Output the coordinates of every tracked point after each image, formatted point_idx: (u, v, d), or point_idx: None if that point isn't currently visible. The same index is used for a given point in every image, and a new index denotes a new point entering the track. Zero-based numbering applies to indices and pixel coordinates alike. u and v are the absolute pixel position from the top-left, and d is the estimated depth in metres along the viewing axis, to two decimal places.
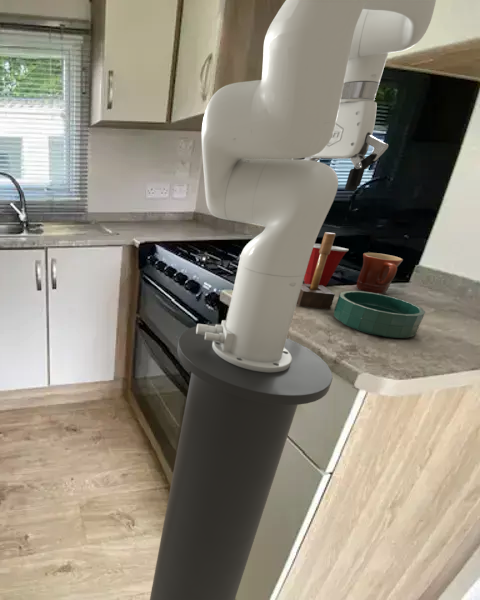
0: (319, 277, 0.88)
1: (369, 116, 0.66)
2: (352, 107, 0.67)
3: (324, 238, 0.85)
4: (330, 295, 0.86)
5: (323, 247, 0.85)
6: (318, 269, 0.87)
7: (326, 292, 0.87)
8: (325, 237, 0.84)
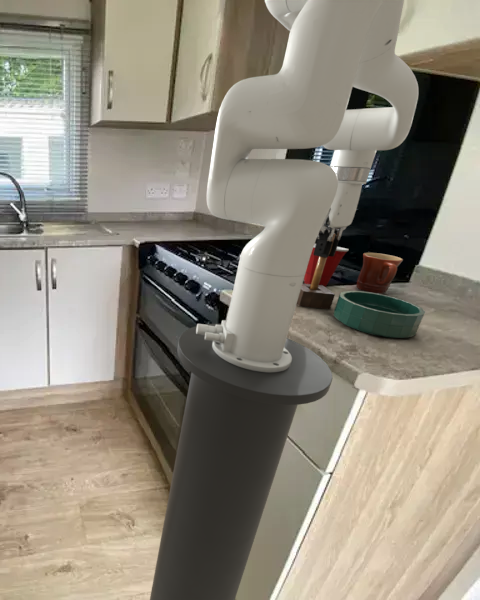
0: (319, 277, 0.88)
1: None
2: None
3: None
4: (330, 295, 0.86)
5: None
6: (318, 269, 0.87)
7: (326, 292, 0.87)
8: None
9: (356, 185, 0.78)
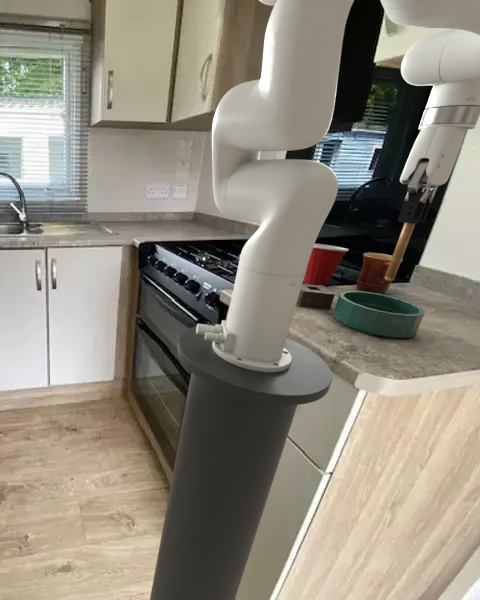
0: (404, 249, 0.72)
1: (422, 142, 0.64)
2: None
3: None
4: (330, 295, 0.86)
5: None
6: (403, 239, 0.72)
7: (326, 292, 0.87)
8: None
9: (462, 130, 0.63)
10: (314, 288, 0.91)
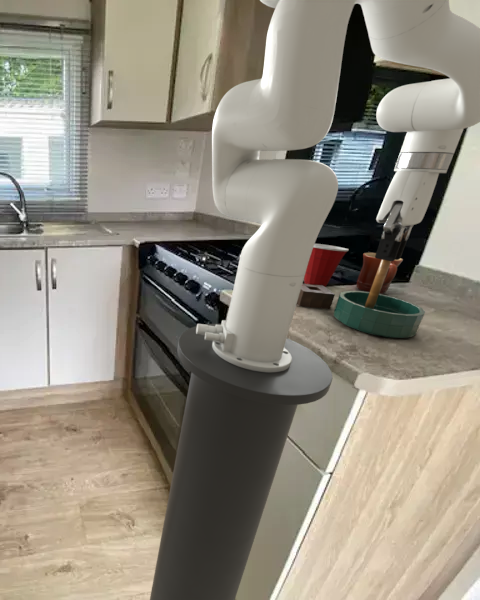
0: (381, 284, 0.75)
1: (397, 185, 0.67)
2: None
3: None
4: (330, 295, 0.86)
5: None
6: (380, 274, 0.74)
7: (326, 292, 0.87)
8: None
9: (434, 174, 0.65)
10: (314, 288, 0.91)
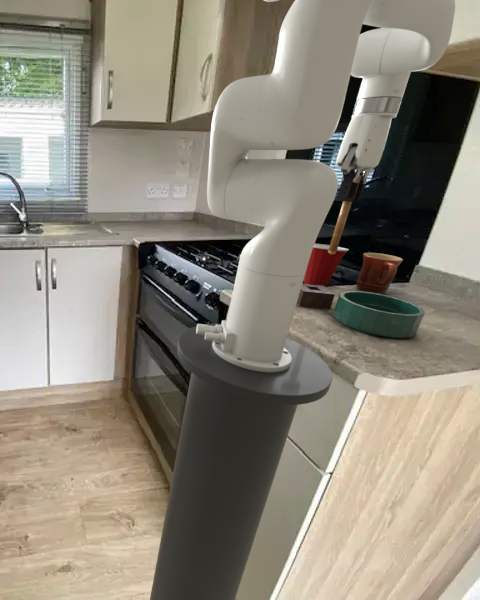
0: (343, 225, 0.82)
1: (352, 129, 0.74)
2: None
3: None
4: (330, 295, 0.86)
5: None
6: (342, 216, 0.81)
7: (326, 292, 0.87)
8: None
9: (386, 118, 0.72)
10: (314, 288, 0.91)
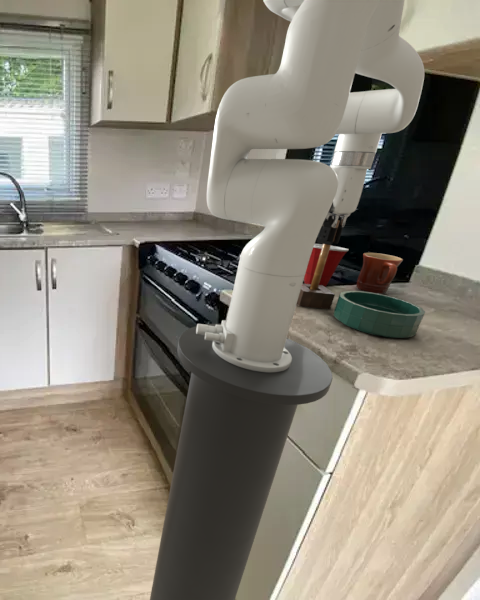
0: (323, 265, 0.87)
1: None
2: None
3: None
4: (330, 295, 0.86)
5: None
6: (322, 257, 0.86)
7: (326, 292, 0.87)
8: None
9: (361, 170, 0.77)
10: None
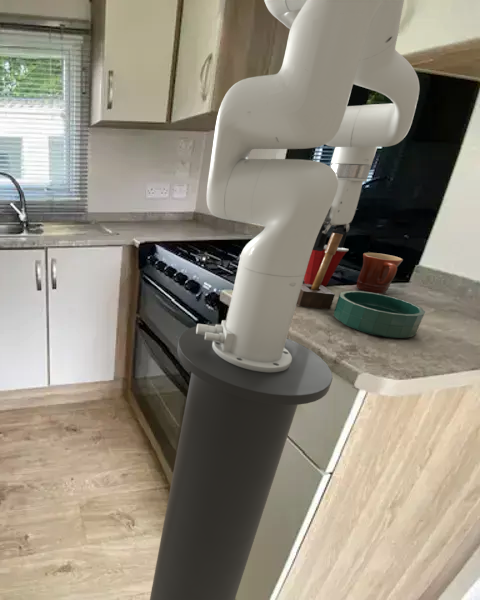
0: (322, 277, 0.88)
1: None
2: None
3: (331, 238, 0.86)
4: (330, 295, 0.86)
5: (329, 247, 0.86)
6: (322, 269, 0.88)
7: (326, 292, 0.87)
8: (332, 237, 0.85)
9: (357, 182, 0.78)
10: None
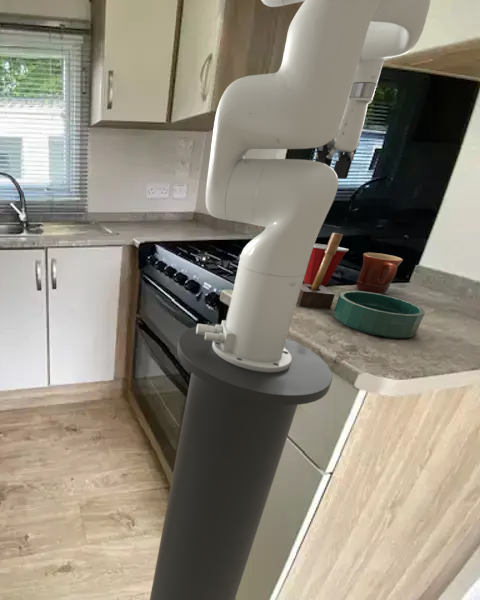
0: (322, 277, 0.88)
1: None
2: None
3: (331, 238, 0.86)
4: (330, 295, 0.86)
5: (329, 247, 0.86)
6: (322, 269, 0.88)
7: (326, 292, 0.87)
8: (332, 237, 0.85)
9: (362, 103, 0.76)
10: None
